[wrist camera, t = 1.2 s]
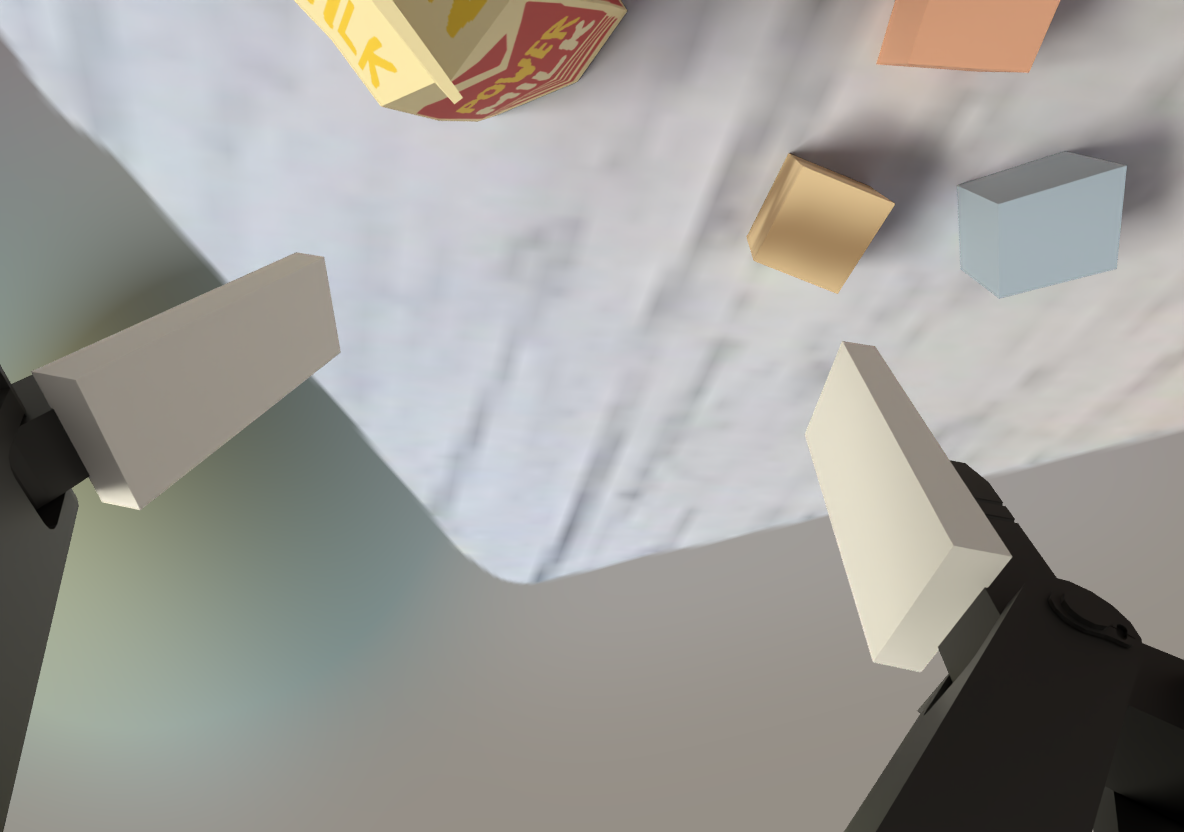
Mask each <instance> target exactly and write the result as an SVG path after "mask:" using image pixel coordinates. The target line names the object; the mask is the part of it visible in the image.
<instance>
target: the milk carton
mask: <svg viewBox="0 0 1184 832" xmlns="http://www.w3.org/2000/svg"><path fill="white" fill-rule="evenodd" d="M294 1H295V2H296V3H297V4H298V5H299V6H300V7H301V8H302V9H303V10H304V11H305V12H306V13H307V15H308V16H309V17H310V18H311V19H312V20H313V21H314V22H315V23H316V24H317V25H318V26H319V27H320V28H321V29H322V30H323V31H324V32H325V33H326V35H327V36H328V37H329V38H330V39H331V40H332V41H333V42H334V44H335V45H336V46H337V48H338V49H339V50H340V52H341V53H342V54H343V56H344V57H345V59H346V60H347V61H348V63H349V64H350V65H351V67H352V68H353V69H354V71H355V72H356V73H357V75H358V76H359V77H360V79H361V80H362V81H363V83H364V84H365V85H366V87H367V88H368V89H369V91H370V92H371V94H372V95H373V96H374V98H375V99H376V100H377V102H378V103H379V104H380V106H381V107H386V108H390V109H394V110H398V111H402V112H406V113H410V114H414V115H418V116H422V117H426V118H431V119H435V120H439V121H476V122H478V121H481V120H484V119H487V118H490V117H493V116H496V115H498V114H501V113H503V112H506V111H508V110H510V109H513V108H515V107H518V106H520V105H522V104H525V103H527V102H530V101H532V100H535V99H537V98H539V97H542V96H544V95H547V94H549V93H551V92H554V91H556V90H559V89H561V88H563V87H566V86H568V85H571V84H573V83H576V82H578V80H579V79H580V77H581V76H582V75H583V73H584V72H585V70H586V69H587V68H588V66H589V65H590V63H591V62H592V60H593V59H594V58H595V56H596V55H597V53H598V52H599V51H600V49H601V48H602V46H603V45H604V43H605V42H606V41H607V39H608V38H609V36H610V35H611V34H612V32H613V31H614V29H615V28H616V27H617V25H618V24H619V22H620V21H621V19H622V18H623V17H624V15H625V14H626V12H627V9H626V8H625V6H624V5H623V3H622V2H621V0H294Z"/></svg>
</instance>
